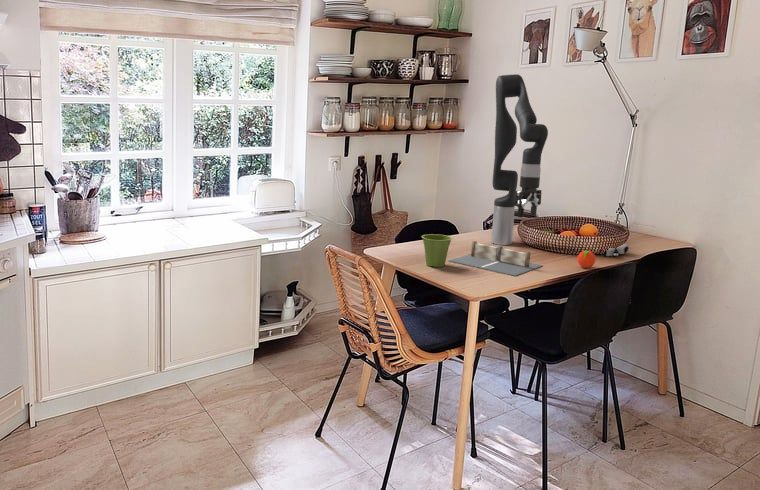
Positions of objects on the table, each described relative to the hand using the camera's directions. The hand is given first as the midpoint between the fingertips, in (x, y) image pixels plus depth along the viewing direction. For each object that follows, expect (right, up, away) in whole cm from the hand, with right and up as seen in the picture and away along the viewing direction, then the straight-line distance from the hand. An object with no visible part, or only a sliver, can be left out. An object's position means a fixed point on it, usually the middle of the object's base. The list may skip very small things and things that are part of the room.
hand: (526, 216), depth 265 cm
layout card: (-12, -19, +1) cm, 22 cm away
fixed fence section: (-15, -17, +8) cm, 24 cm away
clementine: (+23, -21, 0) cm, 31 cm away
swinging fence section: (-6, -19, 0) cm, 19 cm away
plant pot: (-37, -19, -4) cm, 42 cm away
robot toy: (+42, -16, +26) cm, 52 cm away
